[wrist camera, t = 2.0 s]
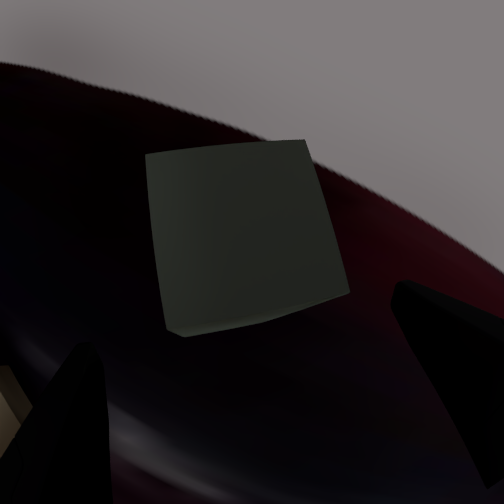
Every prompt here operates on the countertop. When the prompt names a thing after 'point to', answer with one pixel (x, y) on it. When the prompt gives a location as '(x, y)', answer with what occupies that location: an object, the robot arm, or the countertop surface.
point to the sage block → (240, 235)
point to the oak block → (11, 407)
